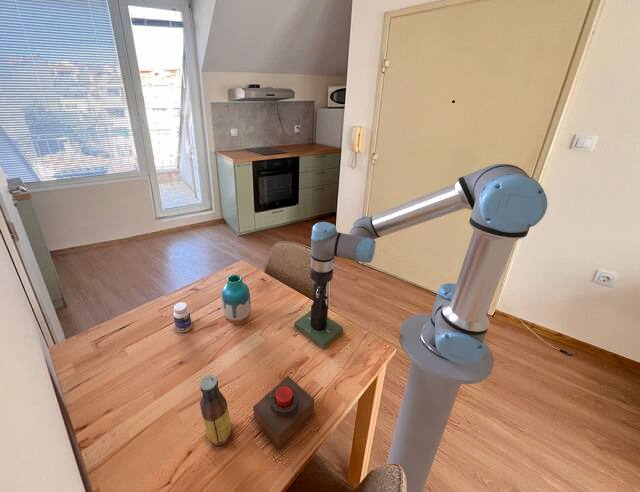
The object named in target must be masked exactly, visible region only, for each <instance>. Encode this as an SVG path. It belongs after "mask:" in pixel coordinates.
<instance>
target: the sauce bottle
mask: <svg viewBox="0 0 640 492" xmlns="http://www.w3.org/2000/svg"><path fill="white" fill-rule="evenodd" d="M199 389H200V391H201V393H202V397H201V398H200V400H199V406H200V411H201V416H202V417H201V418H202V421H203V424H204V429H205V433H206V437H207V439H208V440H209V442H210V444H212V445H214V446H222V445H224V444H225V443H226V442H228V440H230V437H231V435H232V422H231V417H230V413H229V407H228V403H227V399H226V397H225V395H224V394H223V393H222V392H221V391H220V389H219V381H218V377H217V376H215V375H214V374H207V375H205V376H204V377H202V379H201V380H200V382H199Z"/></svg>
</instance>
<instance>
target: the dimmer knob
mask: <svg viewBox="0 0 640 492" xmlns="http://www.w3.org/2000/svg"><path fill="white" fill-rule="evenodd" d="M310 311H311V313H313V303H311V305H310ZM321 314H322V315H321V329H320V330H318V329H314V330H317V331H322V330H324V329H325V328H326V327H327V317H328V316H329V315H328V314H329V306H328V305H327V304H326V302H325V303H322V308H321ZM310 325H311V327H312V328H313V318H312V315H311V319H310Z"/></svg>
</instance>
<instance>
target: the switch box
mask: <svg viewBox="0 0 640 492" xmlns="http://www.w3.org/2000/svg"><path fill="white" fill-rule="evenodd" d="M281 386H287V387H289V388H290V389H291V391H292V403H291V404H290V405H289V406H287V407H281V406H279V405H278V404H277V403H276V390H277V389H278V388H279V387H281ZM252 410H253V421H254V422H255V423H256V424H257V426H258V427H260V429H261V430H262V431H263V432H264V433H265V434H266V436H267V437H268V438H269V439H270V440H271V441H272V443H274V446H276V447H277V449H278V450H281V448H283V446H284V445H285V444H286V443H288V441H289V440H290V439H291V438H292V437H293V436H294V435H295V433H297V431H298V430H299V429H300V428H301V427H302V426H303V425H304V424H305V422H307V420H309V419H310V417H311V416H312V415H313V414H314V411H315V399H314V398H313V397H312V396H311V395H310V394H309V393H308V392H307V391H305V389H303V388H302V386H300V385H299V384H298V383H297V382H295V380H293V379H292V378H291V377H290V376H289V375H287V376H285V378H283V379H282V381H280V382H279V383H278V384H277V385H276V386H275V387H273V388H272V389H271V390H270V391H269V392H268V393H266V394H265V395H264V396H263V397H262V398H261V399H260V400H259V401H257V402H256V403H255V404H254V405H253V406H252Z"/></svg>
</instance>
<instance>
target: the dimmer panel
mask: <svg viewBox="0 0 640 492" xmlns="http://www.w3.org/2000/svg"><path fill="white" fill-rule="evenodd" d="M310 319H311V310H309V311H308V312H306V313H305V314H304V315H303V316H301V317H300V318H298V319H297V320H296V321H294V325H293V327H294V329H296V330H297V331H298V332H300V333H301V334H302V335H304V336H305V337H306V338H308V340H310V341H312V342H313V343H315V344H316V345H317V346H319V347H320V348H321V349H323V350H324V349H325V348H327V347H328V346H329V345H330V344H332V343H333V342H334V341H335V340H336V339H337V338H338V337H339V336H341V334H343V331H344V327H343V326H342V325H341V324H339V323H338V322H336V321H334V320H333V319H331V318H329V317H328V316H327V327H326V328H325V329H324V330H322V331H317V330H314V329H313V328H312V327H311V325H310Z"/></svg>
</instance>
